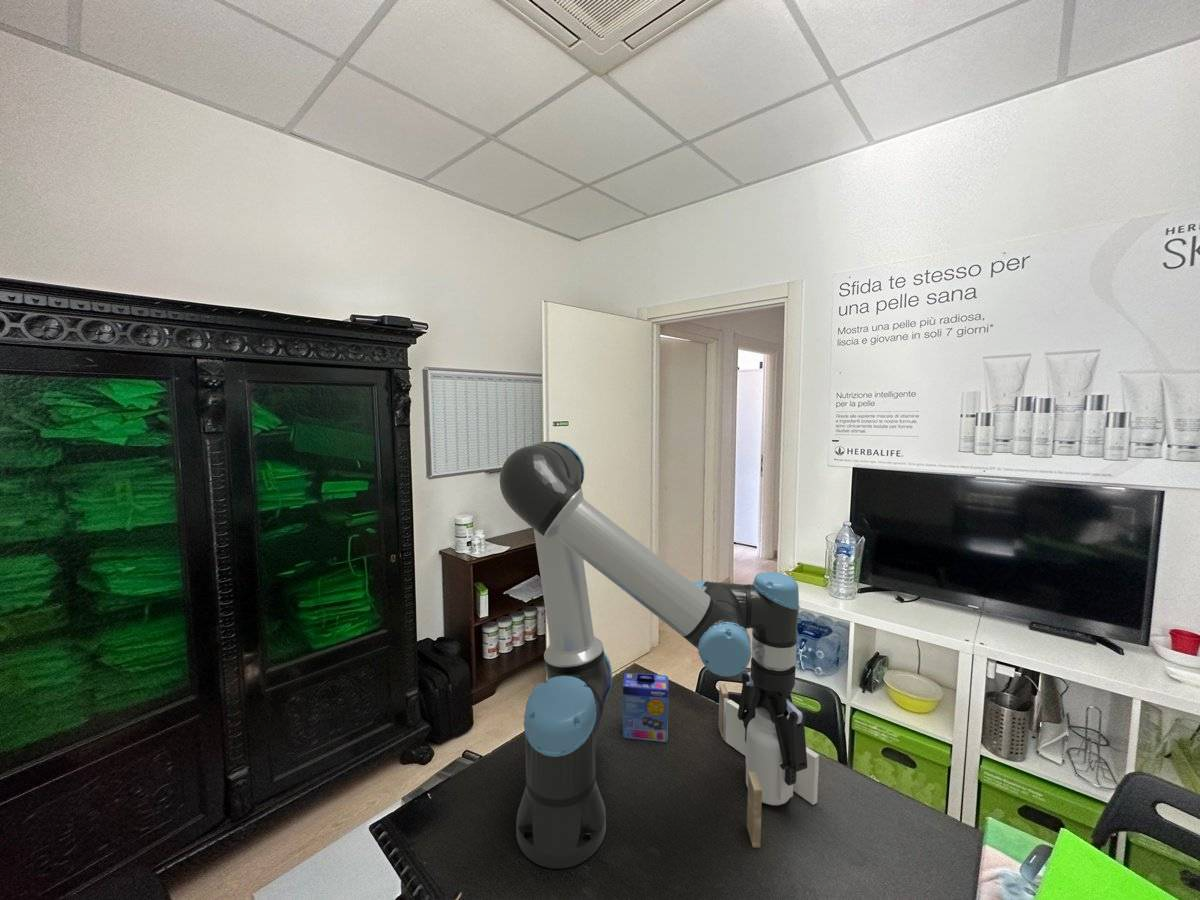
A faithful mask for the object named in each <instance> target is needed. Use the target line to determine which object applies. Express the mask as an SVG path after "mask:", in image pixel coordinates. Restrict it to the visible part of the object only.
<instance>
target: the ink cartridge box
mask: <svg viewBox="0 0 1200 900" xmlns="http://www.w3.org/2000/svg"><path fill="white" fill-rule="evenodd" d="M669 692H670V691H669V676H668V675H666V674H665V675H662V674H654V673H653V674H652V673H641V672H638V673H636V672H624V675H623V682H622V738H623V739H631V740H642V741H651V742H653V741H654V742H660V743H661V742H662V743H666V742H668V739H669V736H668V734H669Z"/></svg>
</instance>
